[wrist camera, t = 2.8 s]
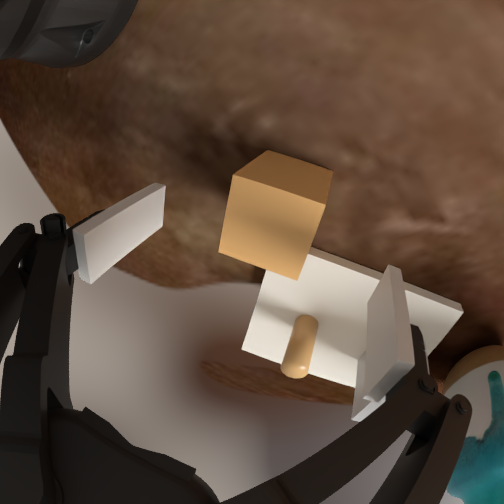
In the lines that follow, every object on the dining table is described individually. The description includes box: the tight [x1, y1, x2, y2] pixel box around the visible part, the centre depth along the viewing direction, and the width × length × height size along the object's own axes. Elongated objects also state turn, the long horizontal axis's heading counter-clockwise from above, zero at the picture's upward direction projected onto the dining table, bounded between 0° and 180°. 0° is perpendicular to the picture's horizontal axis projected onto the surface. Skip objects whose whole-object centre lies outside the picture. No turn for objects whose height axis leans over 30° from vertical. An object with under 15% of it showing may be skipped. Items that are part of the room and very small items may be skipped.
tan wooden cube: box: [219, 150, 333, 281], centre depth 19 cm, size 5×5×7 cm
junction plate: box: [242, 247, 463, 422], centre depth 23 cm, size 18×14×8 cm
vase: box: [442, 345, 504, 504], centre depth 16 cm, size 11×11×19 cm
